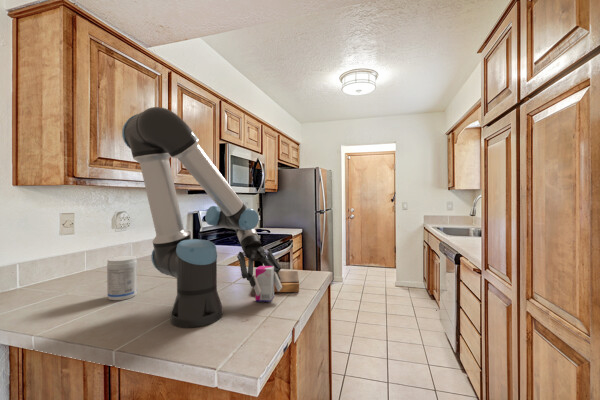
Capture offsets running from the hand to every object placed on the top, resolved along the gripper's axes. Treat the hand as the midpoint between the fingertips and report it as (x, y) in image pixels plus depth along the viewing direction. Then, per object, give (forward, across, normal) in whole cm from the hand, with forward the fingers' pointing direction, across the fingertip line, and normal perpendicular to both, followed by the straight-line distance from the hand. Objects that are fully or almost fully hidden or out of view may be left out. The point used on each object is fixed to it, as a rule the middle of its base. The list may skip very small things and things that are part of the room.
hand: (269, 291), depth 99 cm
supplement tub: (-24, +41, -31) cm, 57 cm away
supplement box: (0, 0, -5) cm, 5 cm away
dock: (-8, -13, -14) cm, 20 cm away
